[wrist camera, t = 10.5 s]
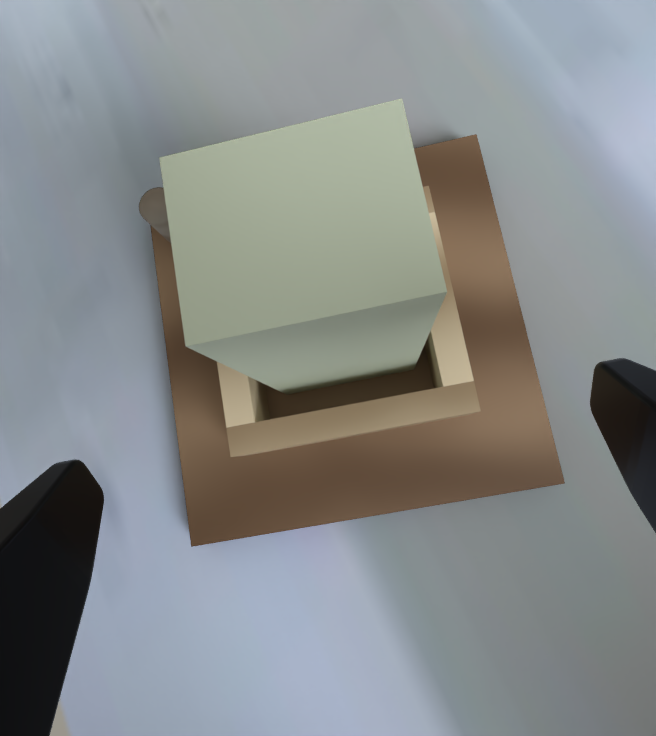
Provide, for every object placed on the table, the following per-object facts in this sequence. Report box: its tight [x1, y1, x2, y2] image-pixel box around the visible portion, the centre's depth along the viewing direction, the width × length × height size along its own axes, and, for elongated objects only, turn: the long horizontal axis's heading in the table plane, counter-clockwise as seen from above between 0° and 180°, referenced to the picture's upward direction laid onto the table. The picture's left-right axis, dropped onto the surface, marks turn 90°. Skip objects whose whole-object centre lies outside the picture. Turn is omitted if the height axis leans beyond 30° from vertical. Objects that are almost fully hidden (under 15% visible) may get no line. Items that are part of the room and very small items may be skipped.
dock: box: [139, 135, 565, 547], centre depth 19 cm, size 14×14×4 cm
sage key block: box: [159, 99, 447, 395], centre depth 14 cm, size 4×5×10 cm
